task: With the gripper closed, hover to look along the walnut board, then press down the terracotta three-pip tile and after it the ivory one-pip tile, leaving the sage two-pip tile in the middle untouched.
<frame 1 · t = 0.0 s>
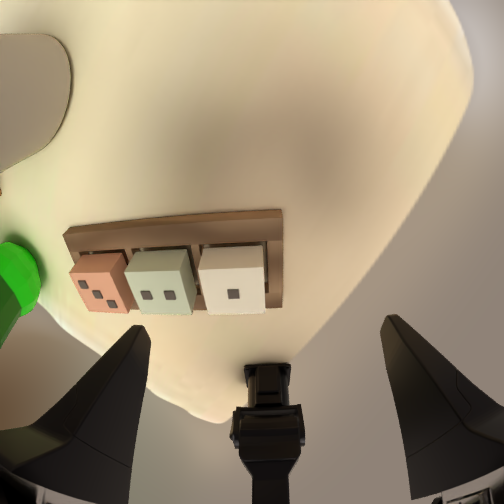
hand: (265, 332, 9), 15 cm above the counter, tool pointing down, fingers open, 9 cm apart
tile one pip: (234, 282, 23), point 3 cm above the counter, slide at 0.0 cm
tile three pips: (103, 284, 24), point 3 cm above the counter, slide at 0.0 cm
walnut board: (170, 263, 26), on the counter
tile two pips: (162, 283, 23), point 3 cm above the counter, slide at 0.0 cm
cylinder vase: (30, 94, 15), on the counter
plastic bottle: (25, 260, 26), on the counter
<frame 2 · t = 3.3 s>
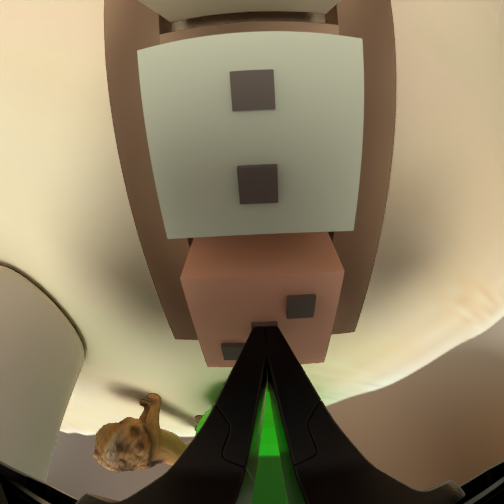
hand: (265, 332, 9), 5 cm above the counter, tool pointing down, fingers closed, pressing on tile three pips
tile three pips: (263, 302, 11), point 3 cm above the counter, slide at 0.2 cm, touching gripper
walnut board: (254, 117, 9), on the counter
lion figurine: (168, 408, 24), on the counter
tile two pips: (255, 128, 7), point 3 cm above the counter, slide at 0.0 cm
cylinder vase: (30, 316, 17), on the counter
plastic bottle: (255, 398, 22), on the counter
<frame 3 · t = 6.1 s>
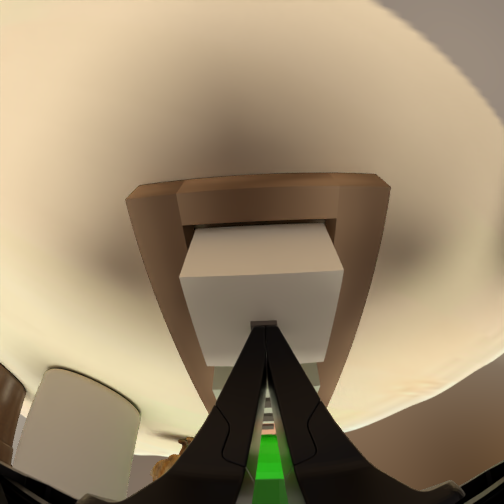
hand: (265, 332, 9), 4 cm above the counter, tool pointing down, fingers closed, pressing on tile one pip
tile one pip: (263, 301, 11), point 3 cm above the counter, slide at 0.4 cm, touching gripper
tile three pips: (267, 409, 19), point 2 cm above the counter, slide at 1.2 cm
walnut board: (265, 344, 16), on the counter
lion figurine: (199, 443, 32), on the counter
plant pot: (0, 369, 27), on the counter
tile two pips: (266, 387, 14), point 3 cm above the counter, slide at 0.0 cm
cylinder vase: (92, 394, 24), on the counter
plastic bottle: (260, 438, 29), on the counter
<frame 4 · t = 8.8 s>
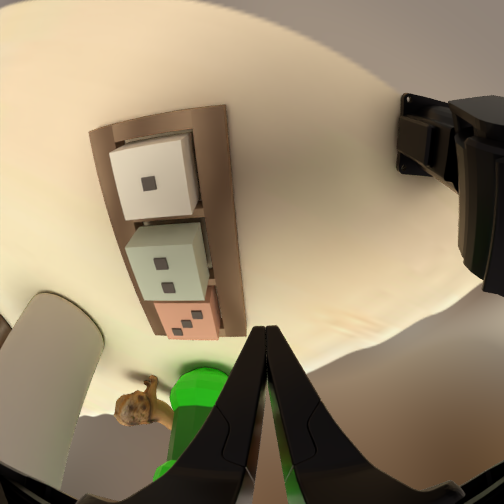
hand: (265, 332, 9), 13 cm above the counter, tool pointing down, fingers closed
tile one pip: (156, 176, 17), point 2 cm above the counter, slide at 1.2 cm
tile three pips: (189, 311, 25), point 2 cm above the counter, slide at 1.2 cm
walnut board: (178, 241, 23), on the counter
lion figurine: (163, 386, 38), on the counter
tile two pips: (169, 263, 20), point 3 cm above the counter, slide at 0.0 cm
cylinder vase: (67, 322, 30), on the counter
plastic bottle: (209, 375, 35), on the counter
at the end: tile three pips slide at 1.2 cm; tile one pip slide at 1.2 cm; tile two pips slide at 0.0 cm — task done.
